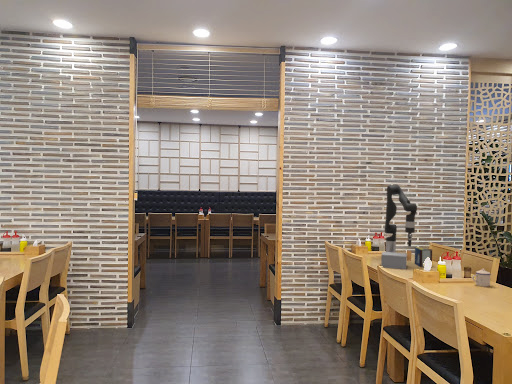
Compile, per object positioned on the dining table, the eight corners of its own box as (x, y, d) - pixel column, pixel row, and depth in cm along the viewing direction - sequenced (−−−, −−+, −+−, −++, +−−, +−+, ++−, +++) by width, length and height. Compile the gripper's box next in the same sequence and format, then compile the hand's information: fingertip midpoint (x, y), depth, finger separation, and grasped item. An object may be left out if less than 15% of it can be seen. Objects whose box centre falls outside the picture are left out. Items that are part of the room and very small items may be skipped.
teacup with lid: (485, 283, 287) (485, 267, 287) (493, 287, 278) (493, 270, 278) (468, 283, 287) (469, 267, 287) (475, 286, 278) (476, 269, 278)
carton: (382, 263, 358) (382, 252, 358) (406, 265, 351) (406, 254, 351) (381, 267, 341) (381, 255, 341) (406, 269, 334) (406, 257, 334)
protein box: (426, 264, 361) (426, 247, 360) (432, 267, 345) (432, 249, 345) (414, 263, 362) (414, 246, 361) (419, 267, 346) (420, 249, 346)
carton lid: (382, 256, 358) (382, 247, 358) (410, 259, 349) (411, 249, 349) (381, 260, 341) (381, 250, 341) (411, 262, 333) (411, 252, 332)
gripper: (405, 226, 349) (404, 244, 349) (405, 227, 336) (404, 246, 336) (414, 226, 347) (414, 245, 347) (414, 227, 333) (414, 247, 333)
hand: (409, 245), depth 341 cm, fingers open, 8 cm apart
